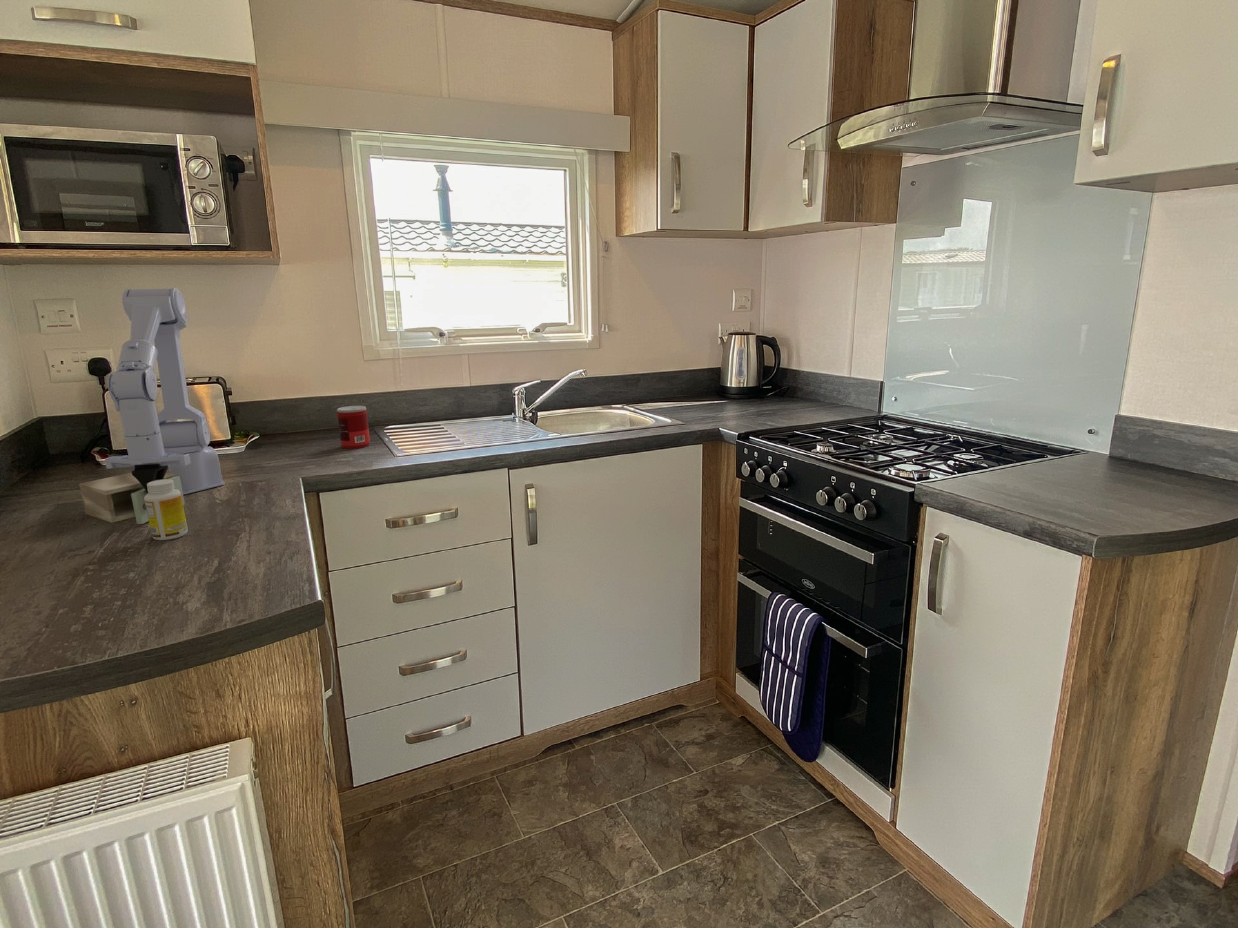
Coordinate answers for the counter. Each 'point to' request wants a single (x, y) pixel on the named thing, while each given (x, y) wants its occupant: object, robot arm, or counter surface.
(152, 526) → the supplement bottle
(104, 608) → the counter surface
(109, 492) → the cabinet
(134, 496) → the door
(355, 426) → the canned food
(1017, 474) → the counter surface
